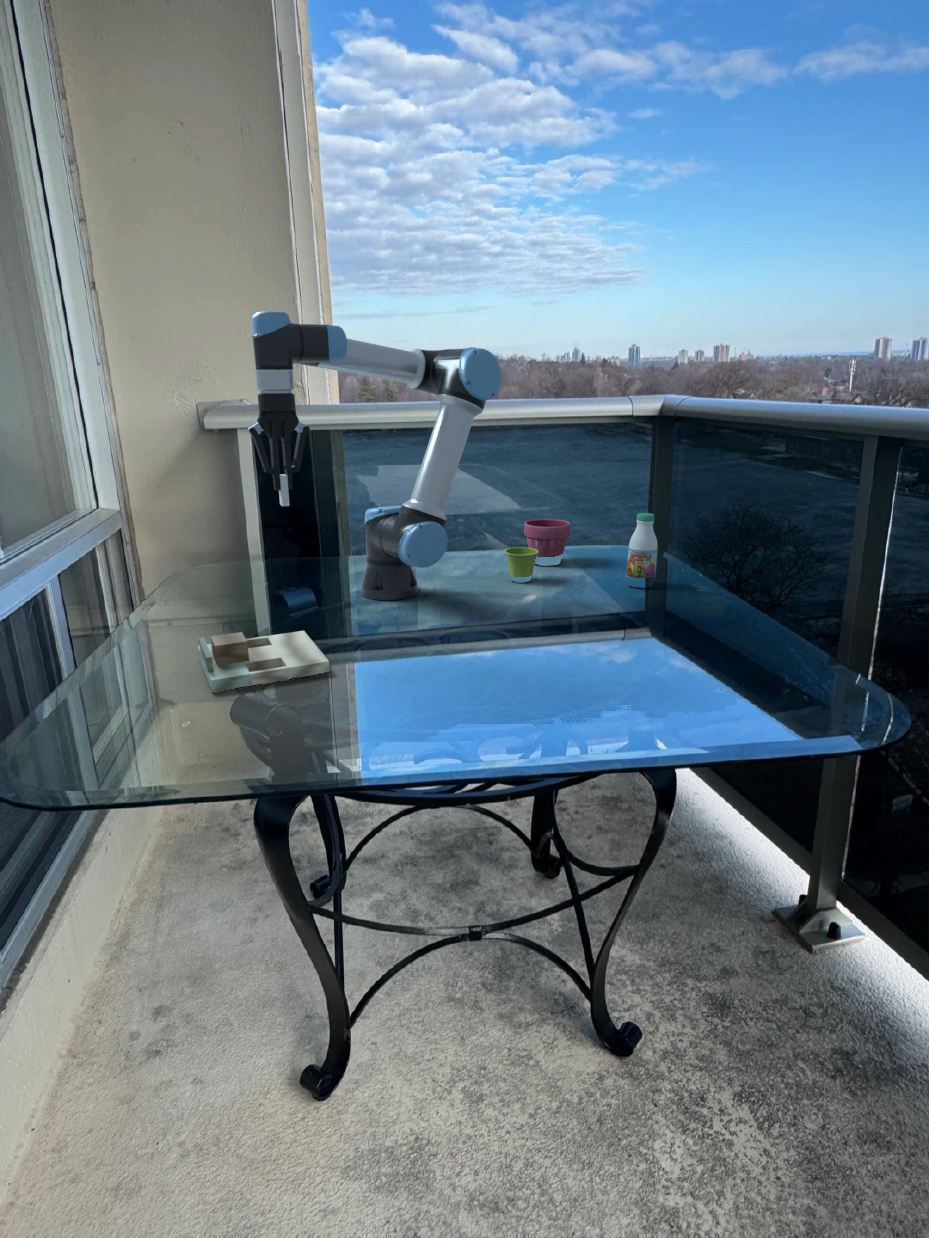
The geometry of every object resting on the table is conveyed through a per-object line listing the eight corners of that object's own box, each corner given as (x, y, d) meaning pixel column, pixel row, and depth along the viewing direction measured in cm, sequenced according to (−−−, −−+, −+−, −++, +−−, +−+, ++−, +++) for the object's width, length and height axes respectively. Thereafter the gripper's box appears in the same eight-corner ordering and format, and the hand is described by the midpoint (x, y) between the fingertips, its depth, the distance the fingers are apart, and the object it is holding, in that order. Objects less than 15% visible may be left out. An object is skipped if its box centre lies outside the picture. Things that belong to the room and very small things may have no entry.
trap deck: (304, 641, 161) (302, 617, 159) (329, 673, 144) (328, 646, 142) (199, 657, 152) (196, 631, 150) (212, 692, 135) (209, 664, 133)
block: (243, 650, 148) (241, 632, 147) (249, 660, 143) (247, 641, 142) (212, 655, 146) (210, 636, 145) (217, 665, 141) (214, 645, 140)
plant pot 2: (522, 557, 235) (523, 518, 231) (566, 558, 235) (568, 518, 231) (524, 568, 222) (525, 526, 218) (570, 569, 221) (573, 527, 217)
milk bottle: (625, 581, 208) (630, 511, 202) (652, 582, 207) (658, 511, 201) (626, 588, 201) (632, 516, 195) (655, 589, 200) (662, 516, 194)
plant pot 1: (538, 585, 204) (539, 554, 202) (504, 585, 204) (505, 554, 202) (536, 576, 213) (537, 547, 210) (503, 576, 213) (504, 547, 211)
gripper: (302, 391, 159) (309, 500, 166) (240, 392, 154) (251, 504, 161) (311, 392, 153) (318, 505, 160) (247, 392, 147) (257, 510, 155)
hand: (284, 505), depth 161 cm, fingers closed
